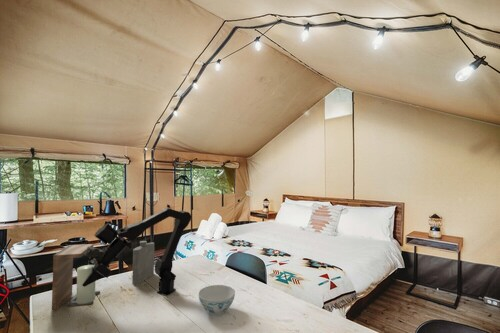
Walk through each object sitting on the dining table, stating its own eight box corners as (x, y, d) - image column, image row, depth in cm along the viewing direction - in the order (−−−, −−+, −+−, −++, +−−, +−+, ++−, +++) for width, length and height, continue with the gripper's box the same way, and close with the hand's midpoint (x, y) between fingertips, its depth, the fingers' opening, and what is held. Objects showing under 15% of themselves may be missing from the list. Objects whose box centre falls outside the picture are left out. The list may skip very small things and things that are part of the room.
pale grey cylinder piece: (98, 298, 108) (99, 266, 108) (83, 305, 102) (84, 271, 102) (87, 295, 110) (88, 264, 111) (72, 302, 104) (73, 269, 105)
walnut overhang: (101, 290, 127) (103, 243, 128) (90, 306, 111) (91, 253, 112) (68, 293, 124) (69, 245, 124) (51, 310, 108) (53, 255, 109)
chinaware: (192, 309, 110) (192, 290, 110) (222, 299, 119) (222, 282, 119) (209, 326, 98) (209, 304, 98) (242, 313, 107) (242, 294, 108)
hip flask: (136, 285, 134) (137, 245, 134) (129, 284, 135) (130, 244, 135) (154, 273, 149) (155, 238, 150) (148, 273, 150) (149, 237, 151)
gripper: (94, 234, 117) (63, 265, 109) (102, 243, 102) (66, 279, 95) (114, 249, 121) (85, 279, 114) (123, 260, 107) (91, 295, 99)
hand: (82, 283), depth 105 cm, fingers closed on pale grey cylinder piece, 6 cm apart
